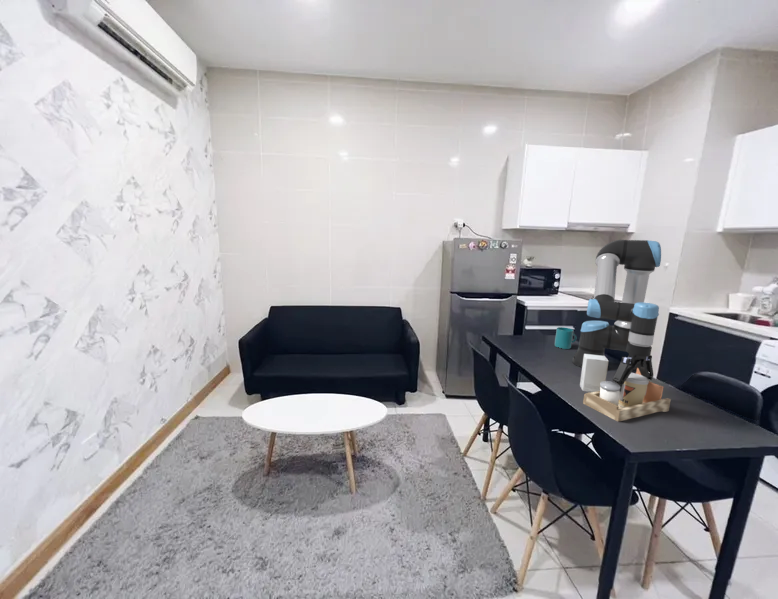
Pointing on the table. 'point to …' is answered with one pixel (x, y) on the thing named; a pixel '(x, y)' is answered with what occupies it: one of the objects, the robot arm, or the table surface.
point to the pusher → (652, 391)
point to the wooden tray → (621, 412)
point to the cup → (564, 338)
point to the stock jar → (610, 391)
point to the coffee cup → (634, 390)
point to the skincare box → (593, 372)
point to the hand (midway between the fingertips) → (629, 396)
